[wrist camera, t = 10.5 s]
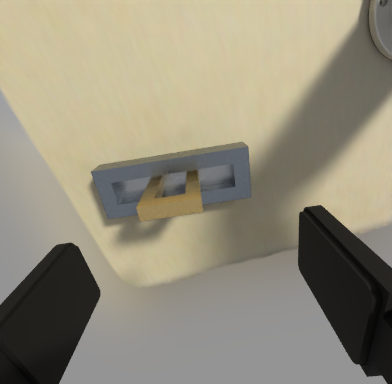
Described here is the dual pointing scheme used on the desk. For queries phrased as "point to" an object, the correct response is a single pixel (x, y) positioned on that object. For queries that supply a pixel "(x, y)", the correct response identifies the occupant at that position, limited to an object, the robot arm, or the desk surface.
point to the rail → (175, 177)
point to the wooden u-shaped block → (170, 199)
